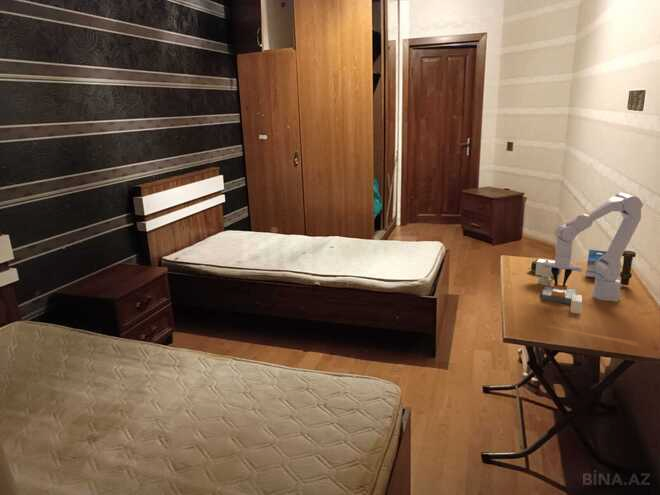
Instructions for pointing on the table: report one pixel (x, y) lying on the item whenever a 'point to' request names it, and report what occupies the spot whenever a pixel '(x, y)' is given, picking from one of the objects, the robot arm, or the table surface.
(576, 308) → the block
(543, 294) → the motor housing
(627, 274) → the bolt
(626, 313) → the table surface
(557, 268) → the robot arm
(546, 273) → the pneumatic valve
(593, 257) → the label tape cartridge
